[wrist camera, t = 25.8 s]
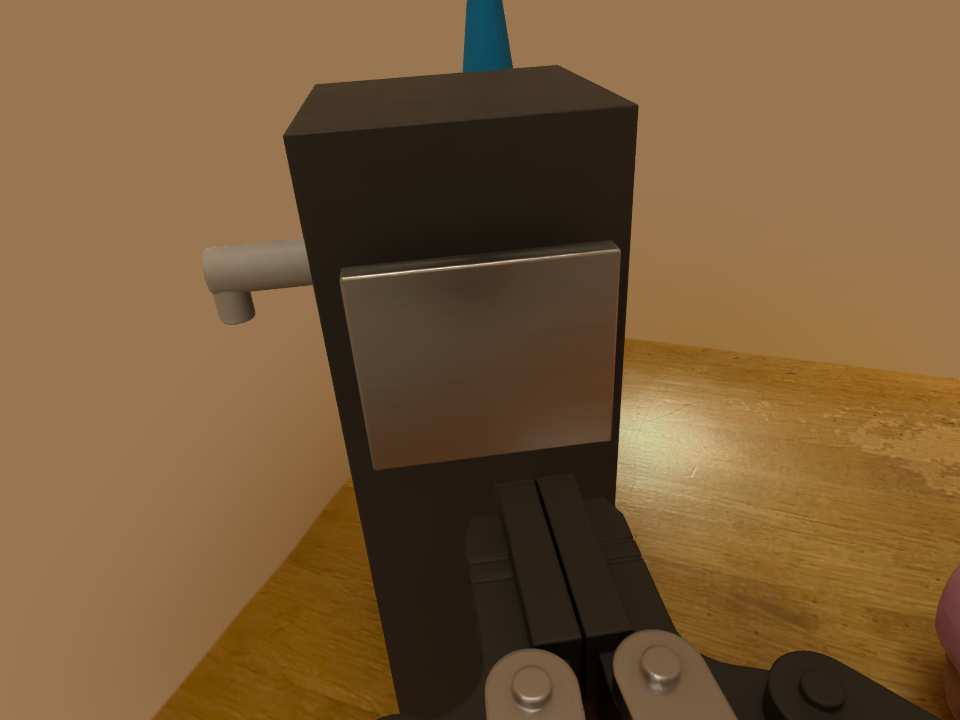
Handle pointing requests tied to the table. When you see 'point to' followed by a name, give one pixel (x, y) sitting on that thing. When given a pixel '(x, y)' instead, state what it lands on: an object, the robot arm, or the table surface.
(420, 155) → the soap dispenser
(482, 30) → the bottle
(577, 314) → the plate
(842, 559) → the table surface
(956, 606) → the cupcake
